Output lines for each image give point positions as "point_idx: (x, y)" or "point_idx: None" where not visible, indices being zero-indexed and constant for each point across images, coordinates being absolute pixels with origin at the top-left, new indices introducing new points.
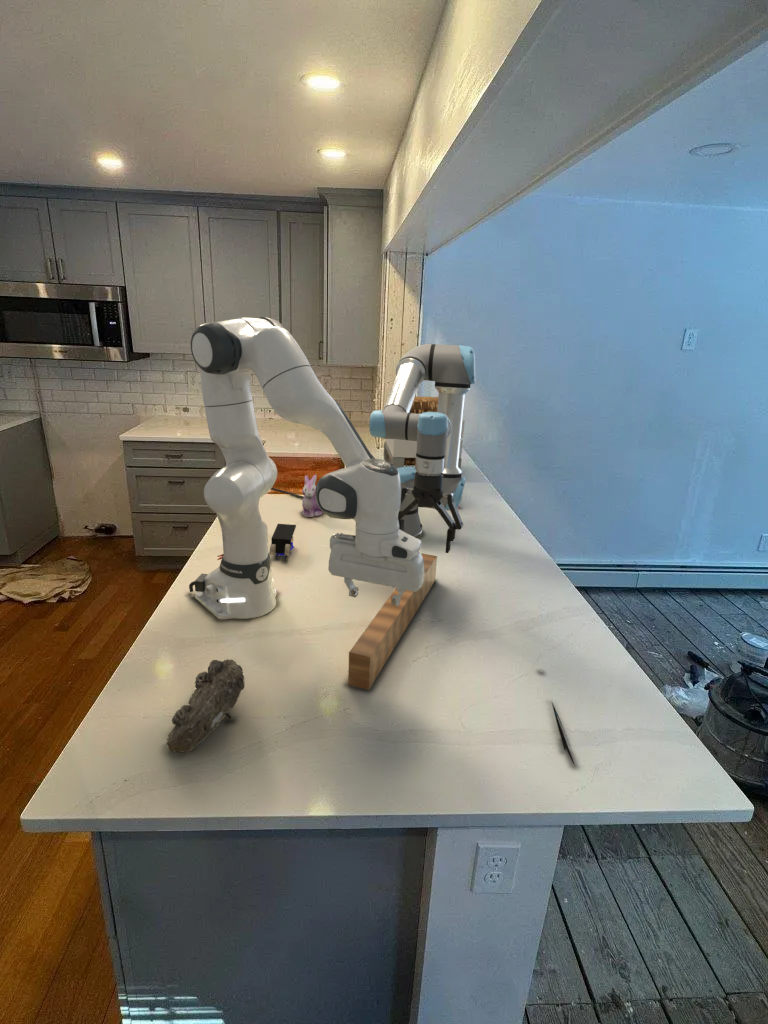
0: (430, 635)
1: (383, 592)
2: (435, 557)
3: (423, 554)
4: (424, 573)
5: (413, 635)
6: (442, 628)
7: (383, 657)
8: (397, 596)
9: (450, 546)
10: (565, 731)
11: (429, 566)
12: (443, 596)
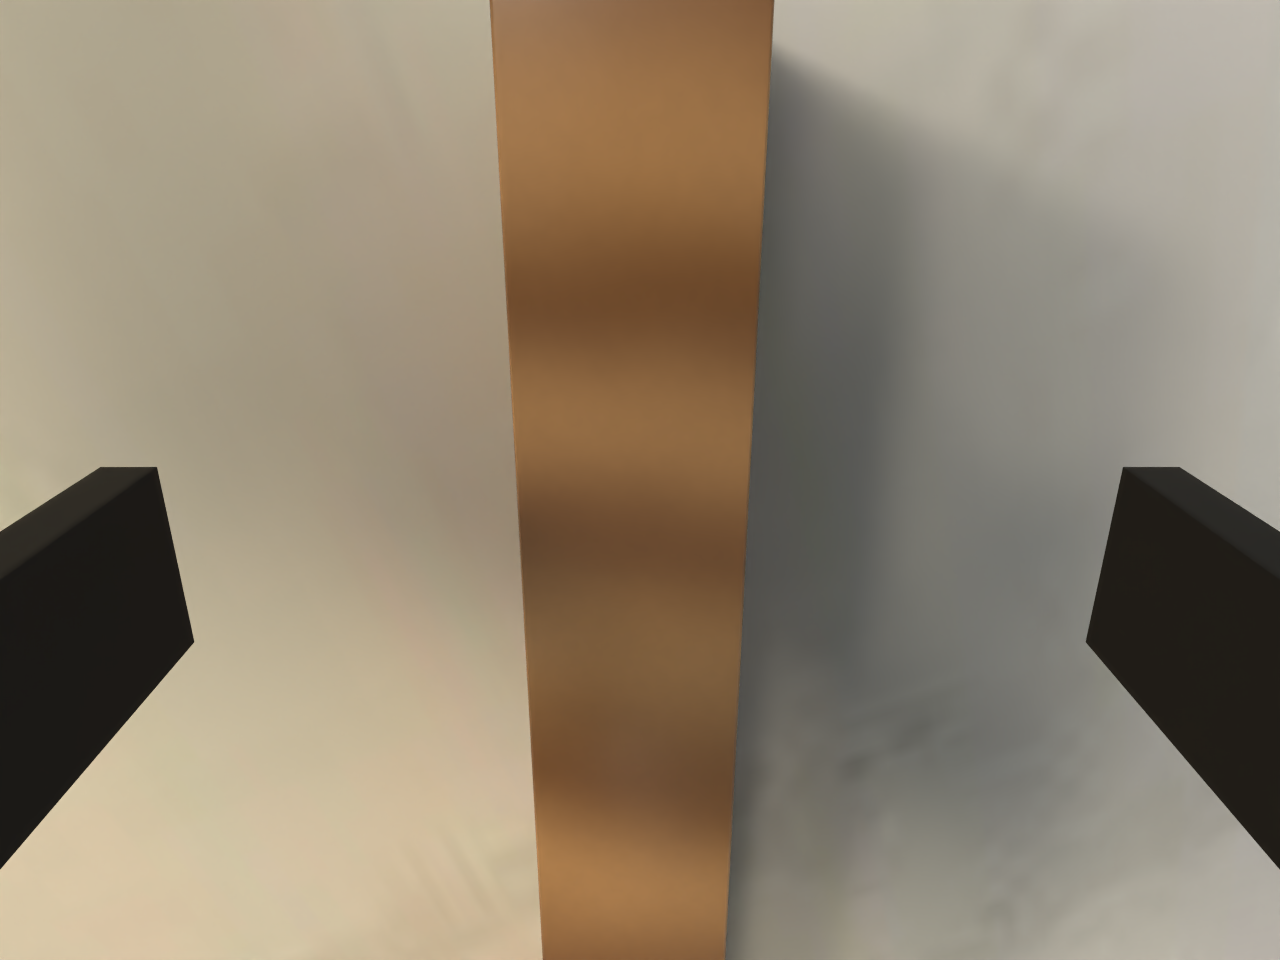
0: (873, 907)
1: (328, 502)
2: (763, 53)
3: (538, 16)
4: (730, 641)
5: (766, 940)
6: (941, 815)
7: None
8: None
9: (1222, 504)
10: None
11: (745, 428)
12: (882, 352)
